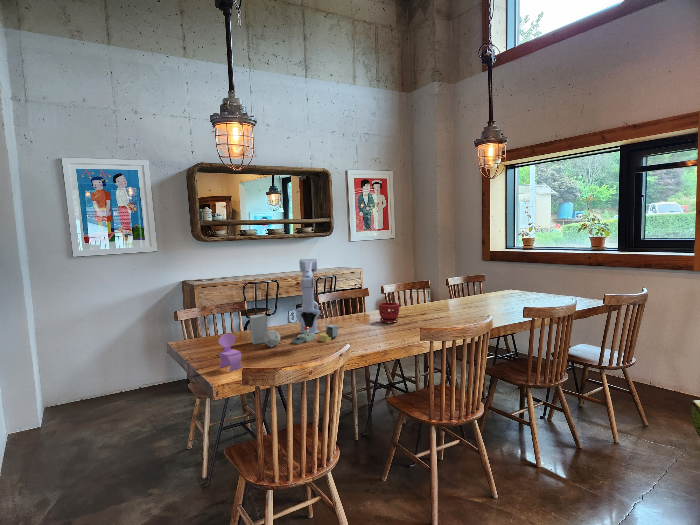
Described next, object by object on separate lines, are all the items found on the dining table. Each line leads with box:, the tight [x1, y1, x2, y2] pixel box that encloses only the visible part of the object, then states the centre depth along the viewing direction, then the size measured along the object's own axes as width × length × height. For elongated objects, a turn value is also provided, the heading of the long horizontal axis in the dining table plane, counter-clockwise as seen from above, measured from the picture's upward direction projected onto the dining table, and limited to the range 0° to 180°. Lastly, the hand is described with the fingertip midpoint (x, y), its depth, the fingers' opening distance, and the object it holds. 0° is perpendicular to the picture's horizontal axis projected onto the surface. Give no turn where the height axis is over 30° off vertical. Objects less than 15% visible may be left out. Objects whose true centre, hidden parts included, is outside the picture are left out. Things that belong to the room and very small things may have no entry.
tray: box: [297, 333, 317, 343], centre depth 229 cm, size 7×7×2 cm
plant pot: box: [378, 301, 400, 323], centre depth 268 cm, size 13×13×12 cm
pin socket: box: [290, 336, 306, 345], centre depth 224 cm, size 5×5×2 cm
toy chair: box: [217, 333, 243, 372], centre depth 183 cm, size 8×9×15 cm
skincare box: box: [249, 313, 269, 345], centre depth 226 cm, size 8×6×15 cm
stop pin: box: [303, 327, 309, 337], centre depth 229 cm, size 3×3×6 cm
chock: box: [318, 333, 332, 343], centre depth 226 cm, size 5×4×4 cm
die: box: [263, 329, 281, 348], centre depth 218 cm, size 8×9×10 cm
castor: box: [325, 324, 338, 340], centre depth 231 cm, size 5×6×7 cm
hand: (309, 327), depth 216 cm, fingers closed
